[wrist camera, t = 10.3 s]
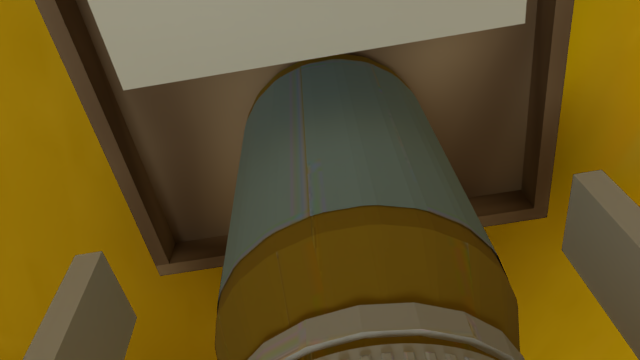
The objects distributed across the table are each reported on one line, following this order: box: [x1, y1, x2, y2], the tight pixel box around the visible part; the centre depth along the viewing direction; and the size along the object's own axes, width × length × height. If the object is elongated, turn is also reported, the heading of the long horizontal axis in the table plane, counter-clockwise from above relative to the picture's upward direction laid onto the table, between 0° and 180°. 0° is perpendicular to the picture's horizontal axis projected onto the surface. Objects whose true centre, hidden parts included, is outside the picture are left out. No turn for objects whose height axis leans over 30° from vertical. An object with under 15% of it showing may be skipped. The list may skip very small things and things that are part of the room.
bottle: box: [215, 54, 524, 360], centre depth 14 cm, size 7×7×15 cm
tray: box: [35, 0, 574, 276], centre depth 18 cm, size 17×16×2 cm
